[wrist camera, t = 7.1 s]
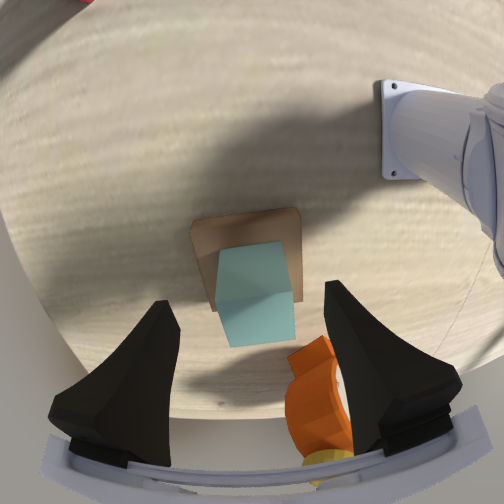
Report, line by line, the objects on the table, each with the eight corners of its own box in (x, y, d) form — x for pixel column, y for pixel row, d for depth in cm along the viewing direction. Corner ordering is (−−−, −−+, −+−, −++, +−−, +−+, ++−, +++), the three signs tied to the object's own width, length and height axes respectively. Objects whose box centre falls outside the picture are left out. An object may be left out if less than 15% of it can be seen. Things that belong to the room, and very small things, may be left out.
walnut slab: (294, 204, 21) (300, 218, 19) (298, 283, 25) (303, 301, 23) (194, 217, 22) (189, 232, 19) (214, 293, 26) (212, 311, 24)
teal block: (280, 240, 20) (292, 291, 15) (285, 287, 22) (295, 339, 18) (220, 249, 20) (214, 301, 16) (231, 294, 23) (230, 347, 18)
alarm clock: (372, 363, 33) (409, 491, 16) (337, 383, 36) (362, 506, 19) (318, 326, 28) (357, 510, 11) (276, 353, 30) (293, 521, 14)
